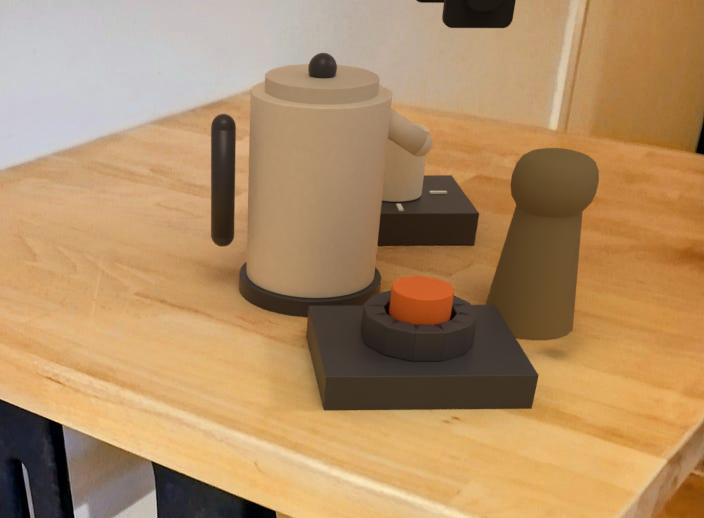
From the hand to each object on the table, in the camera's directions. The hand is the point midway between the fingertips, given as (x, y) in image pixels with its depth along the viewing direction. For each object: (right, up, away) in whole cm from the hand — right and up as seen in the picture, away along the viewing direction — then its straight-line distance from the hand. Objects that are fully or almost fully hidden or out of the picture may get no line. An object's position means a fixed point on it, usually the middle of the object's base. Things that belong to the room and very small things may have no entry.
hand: (459, 10), depth 51 cm
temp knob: (+2, +2, +32) cm, 32 cm away
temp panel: (+2, 0, +34) cm, 34 cm away
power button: (0, -13, +10) cm, 16 cm away
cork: (+9, -12, +18) cm, 23 cm away
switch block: (0, -16, +12) cm, 20 cm away
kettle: (-6, -8, +22) cm, 24 cm away
